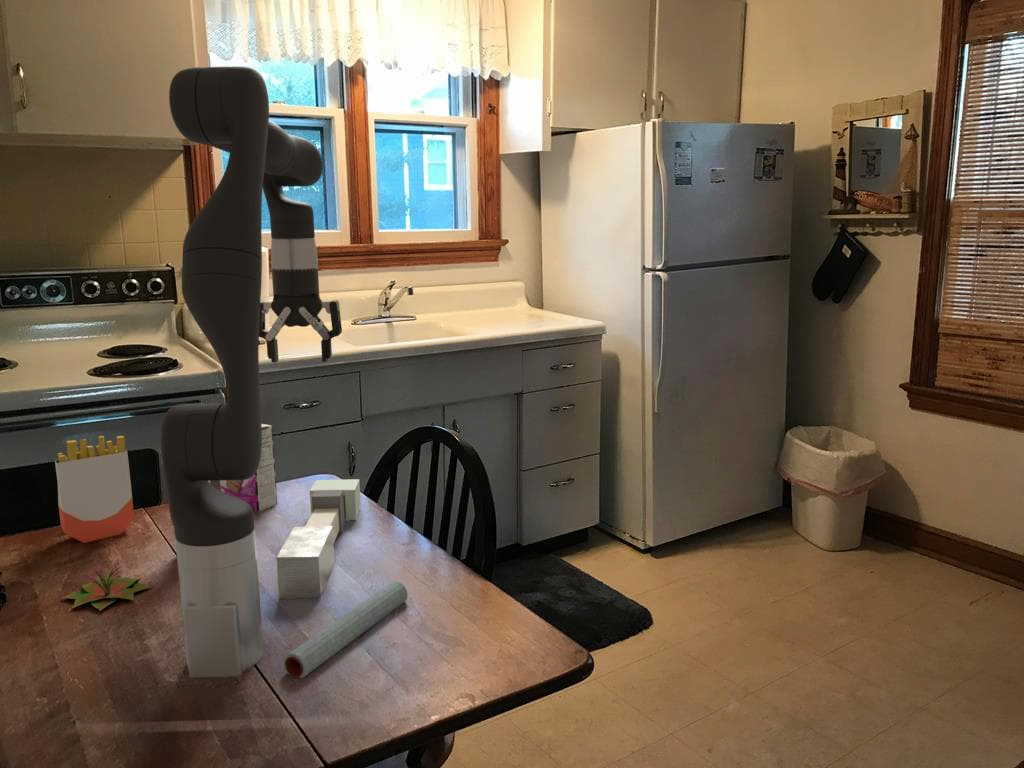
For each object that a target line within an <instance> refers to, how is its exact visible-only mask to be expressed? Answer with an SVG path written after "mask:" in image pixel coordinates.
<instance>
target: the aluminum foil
mask: <svg viewBox="0 0 1024 768" xmlns="http://www.w3.org/2000/svg"><path fill="white" fill-rule="evenodd" d="M407 598H408V591H407V588H406V586H405V585H404V584H403V583H401V582H400V581H395V580H393V581H391V582H389V583H388V584H387V585H385V586H383V588H381V589H379V590H377V592H375V593H374V594H372V595H371V596H370V597H368V598H367V599H365V600H364V601H362V602H361V603H359V604H358V605H356V606H355V607H353V608H351V609H350V610H349V611H348V612H346V613H345V614H343V615H342V616H341V617H339V618H337V619H336V620H334V622H332V623H331V624H329V625H327V626H326V627H325V628H323V629H322V630H320V631H319V632H317V633H316V634H315V635H313V636H312V637H310V638H309V639H307V640H306V641H304V642H303V643H302V644H300V645H299V646H297V647H296V648H294V649H293V650H292V651H289V653H287V654H286V655H285V657H284V658H283V668H284V670H285V672H286V673H287V674H288V675H290V676H291V677H293V678H299V679H303V678H305V677H306V676H307V675H309V674H310V673H311V672H313V671H315V669H317V668H318V667H320V666H321V665H322V664H324V663H325V662H326V661H328V660H329V659H330V658H331V657H333V656H335V654H337V653H339V651H341V650H342V649H344V648H345V647H346V646H348V645H349V644H350V643H352V642H353V641H354V640H356V639H357V638H359V636H361V635H362V634H364V633H365V632H367V631H368V630H369V629H370V628H372V627H373V626H374V625H375V624H377V623H378V622H380V621H381V620H382V619H384V618H385V617H387V616H388V615H389V614H390V613H391V612H393V611H394V610H395V609H397V608H398V607H400V606H401V605H402V604H403V603H405V602H406V601H407Z"/></svg>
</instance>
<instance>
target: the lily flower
mask: <svg viewBox="0 0 1024 768" xmlns="http://www.w3.org/2000/svg"><path fill="white" fill-rule="evenodd" d="M106 565H107V566H106V567H108V562H107V564H106ZM118 565H119V562H117V563H116V564H115V565H114V567H113V568H112V570H111V571H110V572H109V574H108V576H107V577H106V576H105V575H106V574H105V573H104V572H103V571H102V569H101V567H100V566H99V565H98V566H97V567H98V569H99V570H100V572H101V573H100V572H99V571H98V570H96V569H92V570H93V572H94V573H95V574H96V575H97V576H98V578H99V579H95V578H94V577H91V576H89V577H88V579H89V580H91V582H88V583H87V584H82V587H81V588H82V589H81V590H76V591H73V592H70V593H69V594H66V596H61V597H60V598H61V599H62V598H63V599H71V600H72V599H73V600H75V601H74V603H73V606H71V608H70V609H74V608H76V607H79V606H81V605H83V604H86V603H87V604H88V603H89V602H90V605H92V606H93V607H94V608H96V609H98V611H99V612H100V611H102V610H103V609H105V608H106V607H108V606H110V605H111V604H113V603H114V602H116V601H117V600H118V598H119V599H125V600H130V601H136V600H135V596H134V594H135V593H136V592H139V591H144V590H146V589H149V588H154V586H152V585H148V584H147V585H146V584H145V583H135V582H136V581H138V580H140V579H142V577H130V576H129V577H125V576H124V577H121V574H120V575H118V570H120V569H121V568H123V566H118ZM117 566H118V567H117ZM115 567H117V568H116V569H115ZM114 569H115V570H114ZM116 571H117V572H116ZM116 575H117V576H116ZM105 577H106V578H105ZM110 592H113V594H112V595H110ZM104 594H105V596H103V595H104ZM106 595H107V596H106Z"/></svg>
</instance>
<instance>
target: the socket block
mask: <svg viewBox="0 0 1024 768" xmlns="http://www.w3.org/2000/svg"><path fill="white" fill-rule="evenodd" d="M315 490H343V498H344V518H345V520H356V519H357V520H358V517H359V515H358V514H360V512H361V509H362V508H361V507H362V505H361V487H360V479H359V478H358V479H357V478H356V479H355V478H353V479H351V478H350V479H316V480H315V481H314V483H313V484H312V486H311V488H310V489H309V499H310V501H309V502H310V516H311V515H312V513H313V510H312V495H313V494H314V492H315ZM360 508H361V509H360ZM359 511H360V512H359ZM357 516H358V517H357ZM357 520H356V521H357Z"/></svg>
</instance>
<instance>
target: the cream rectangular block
mask: <svg viewBox="0 0 1024 768" xmlns="http://www.w3.org/2000/svg"><path fill="white" fill-rule="evenodd" d="M334 544H335V542H334V543H333V526H306V525H304V526H294V527H293V528H292V530H291V531H290V534H289V535H288V537H287V538H286V540H285V542H284V543H283V545H282V547H281V549H280V551H279V552H278V554H277V556H276V569H277V571H276V572H277V584H278V585H277V586H278V598H279V600H280V599H283V600H284V599H317V598H319V599H321V598H322V596H323V594H324V590H325V588H326V587H327V586H326V585H327V583H328V580H329V578H330V576H331V573H332V572H333V571H332V570H333V568H334V565H335V547H334Z"/></svg>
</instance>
